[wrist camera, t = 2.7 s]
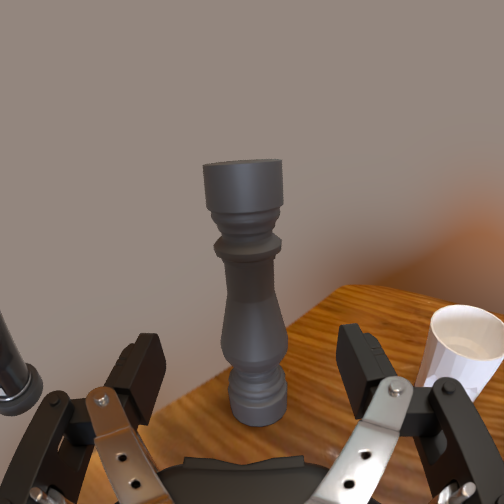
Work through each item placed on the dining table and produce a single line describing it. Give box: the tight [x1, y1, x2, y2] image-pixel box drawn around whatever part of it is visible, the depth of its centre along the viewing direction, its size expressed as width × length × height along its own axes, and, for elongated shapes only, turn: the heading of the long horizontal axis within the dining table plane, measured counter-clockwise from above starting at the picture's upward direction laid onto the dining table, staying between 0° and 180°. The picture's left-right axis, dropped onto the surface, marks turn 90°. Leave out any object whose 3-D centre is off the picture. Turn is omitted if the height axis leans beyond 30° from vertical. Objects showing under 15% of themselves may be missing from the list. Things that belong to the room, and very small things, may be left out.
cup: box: [414, 305, 504, 403], centre depth 23 cm, size 10×10×10 cm
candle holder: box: [203, 159, 288, 427], centre depth 24 cm, size 6×6×25 cm
